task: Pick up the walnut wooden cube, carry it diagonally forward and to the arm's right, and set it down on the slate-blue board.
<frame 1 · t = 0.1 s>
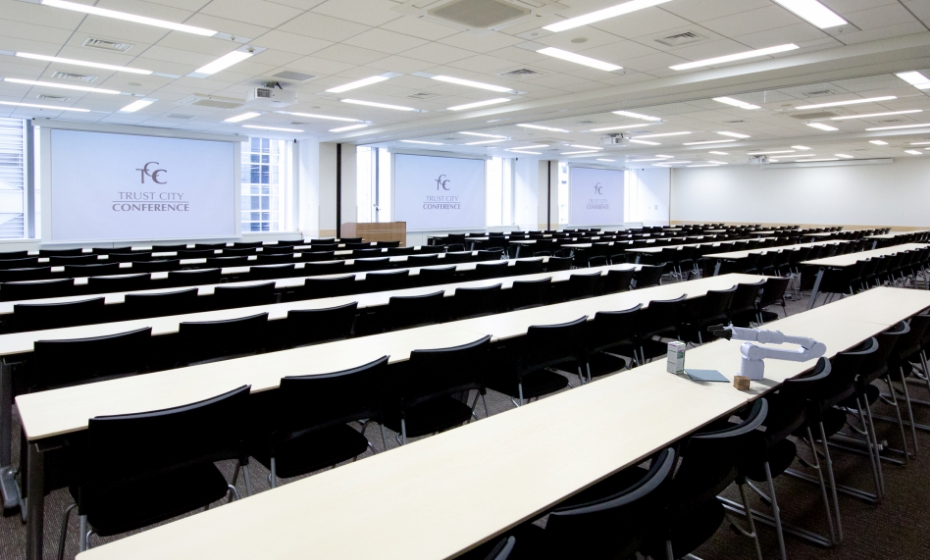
hand: (710, 330, 271), 22 cm above the table, tool horizontal, fingers open, 7 cm apart
syrup box: (674, 372, 279), on the table
walnut cube: (741, 388, 258), on the table
slate board: (705, 375, 274), on the table
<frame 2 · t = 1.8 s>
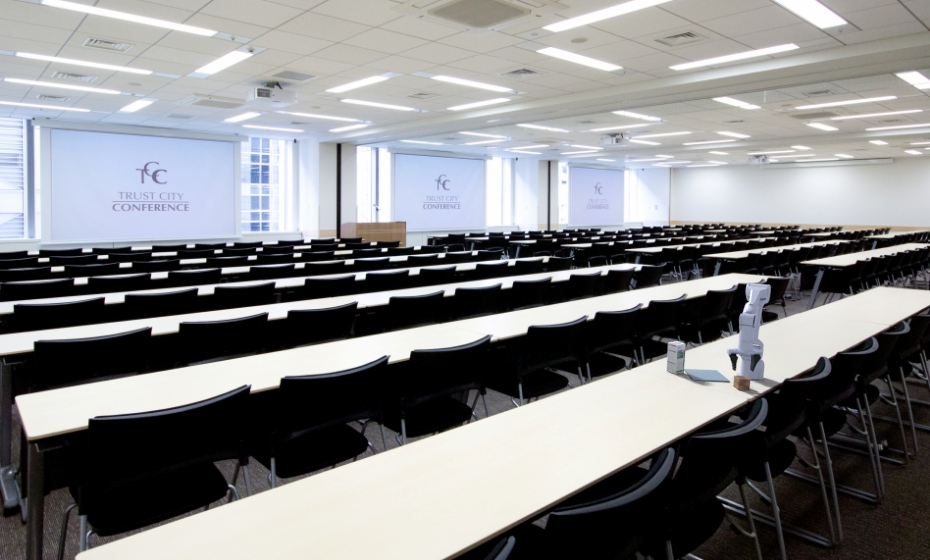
hand: (743, 370, 256), 8 cm above the table, tool pointing down, fingers open, 7 cm apart
nothing on the table moved.
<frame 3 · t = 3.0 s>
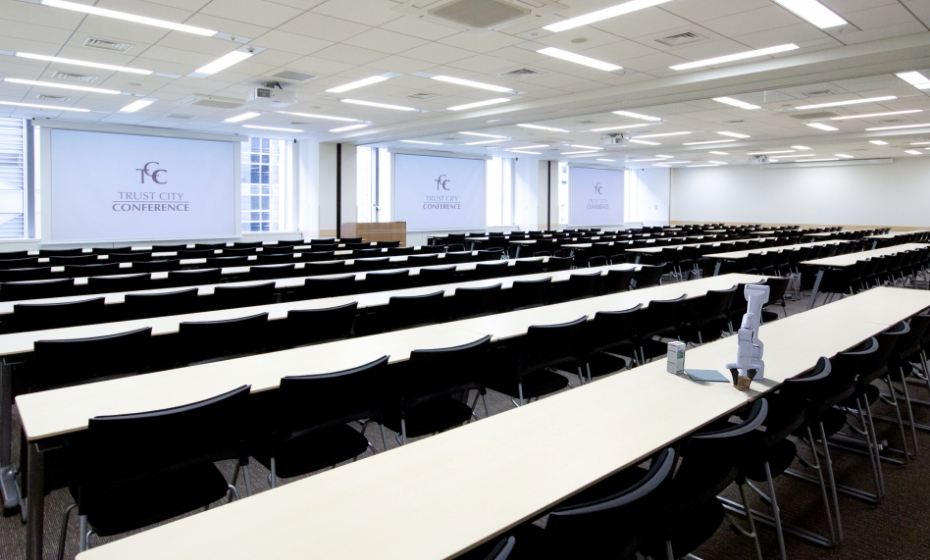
hand: (741, 385, 257), 1 cm above the table, tool pointing down, fingers closed on walnut cube, 5 cm apart
walnut cube: (741, 388, 258), on the table, touching gripper
everything else where it was.
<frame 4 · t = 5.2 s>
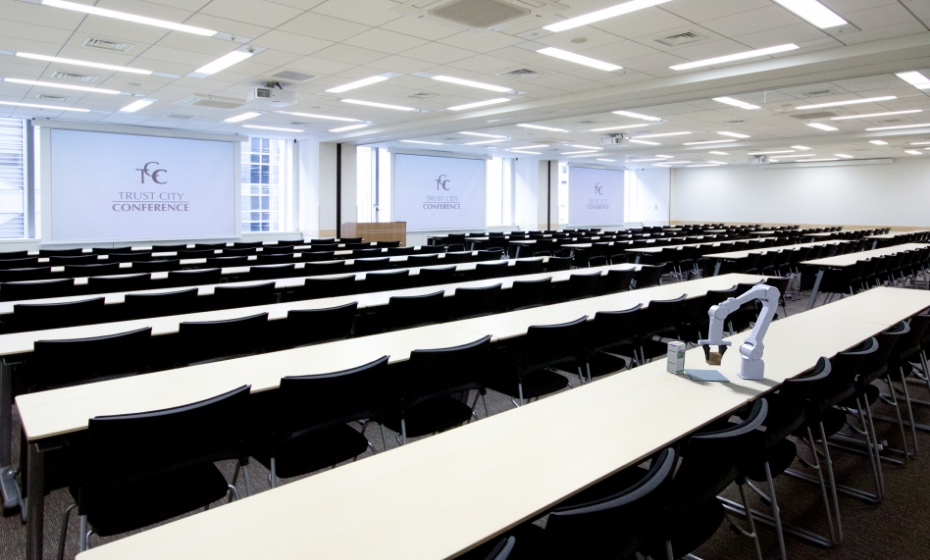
hand: (713, 360, 270), 8 cm above the table, tool pointing down, fingers closed on walnut cube, 5 cm apart
walnut cube: (713, 363, 270), point 7 cm above the table, touching gripper
everything else where it was.
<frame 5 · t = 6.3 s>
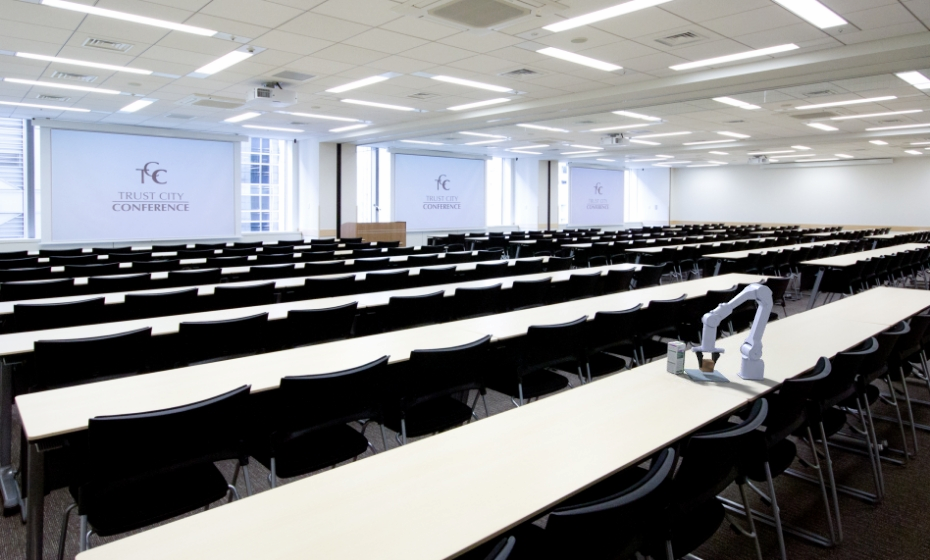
hand: (706, 367, 273), 4 cm above the table, tool pointing down, fingers closed on walnut cube, 5 cm apart
walnut cube: (706, 370, 273), point 3 cm above the table, touching gripper
everything else where it was.
when the fingers open (3 cm above the table, at t = 7.4 s): walnut cube stays where it is, resting on slate board.
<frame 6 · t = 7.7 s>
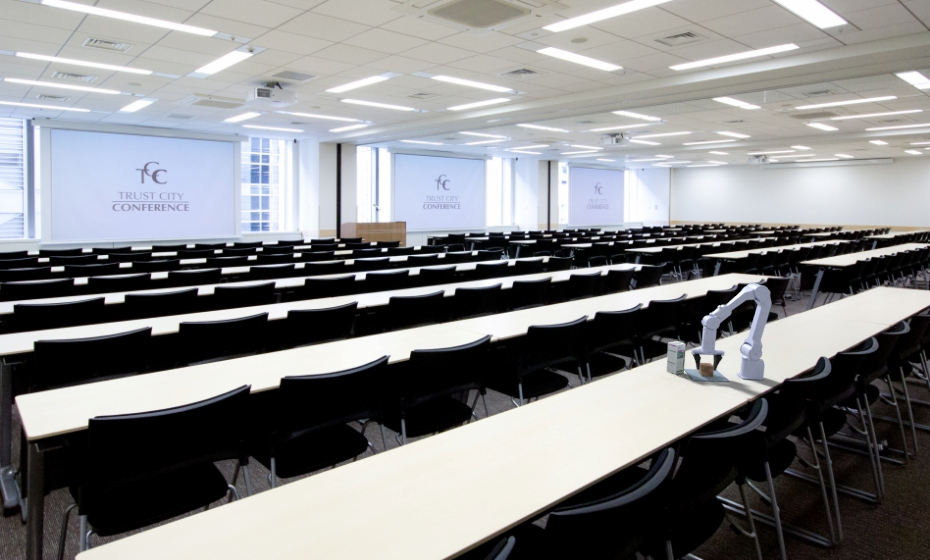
hand: (706, 369, 274), 3 cm above the table, tool pointing down, fingers open, 7 cm apart
walnut cube: (705, 374, 274), point 1 cm above the table, touching slate board
everything else where it was.
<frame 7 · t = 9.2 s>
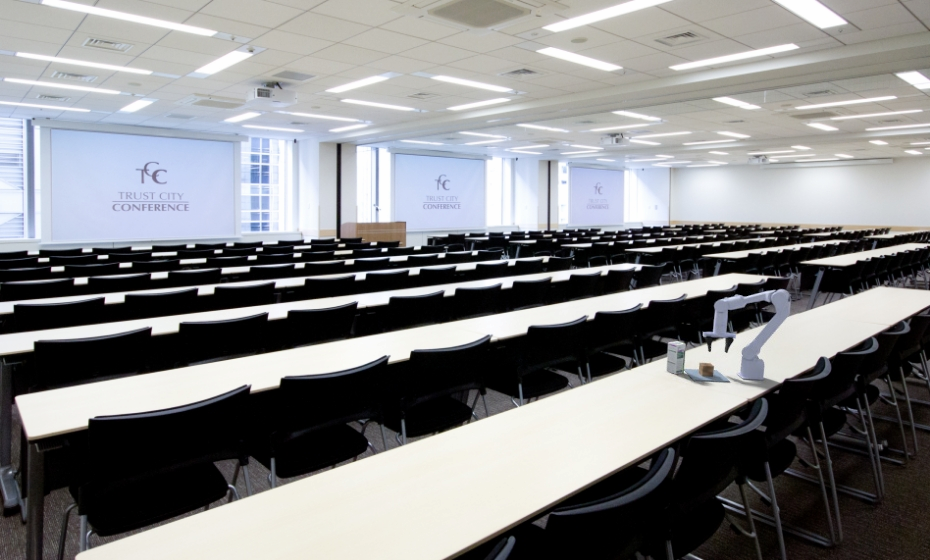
hand: (717, 351, 281), 9 cm above the table, tool pointing down, fingers open, 7 cm apart
nothing on the table moved.
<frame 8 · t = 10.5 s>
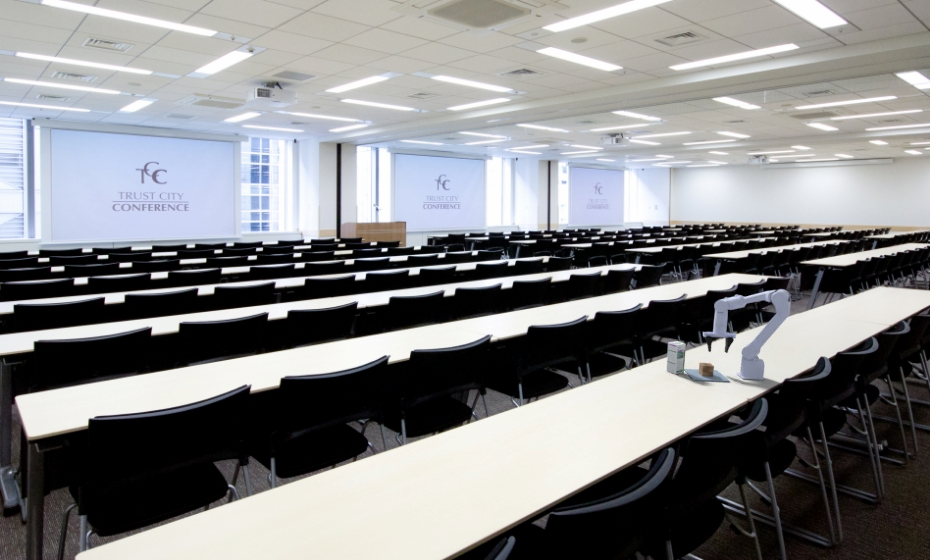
hand: (717, 351, 281), 9 cm above the table, tool pointing down, fingers open, 7 cm apart
nothing on the table moved.
at the end: walnut cube inside the target area on the slate board (0.2 cm from its centre), point 0.6 cm above the slate board's base; walnut cube tilted 0°; the gripper is holding nothing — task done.
